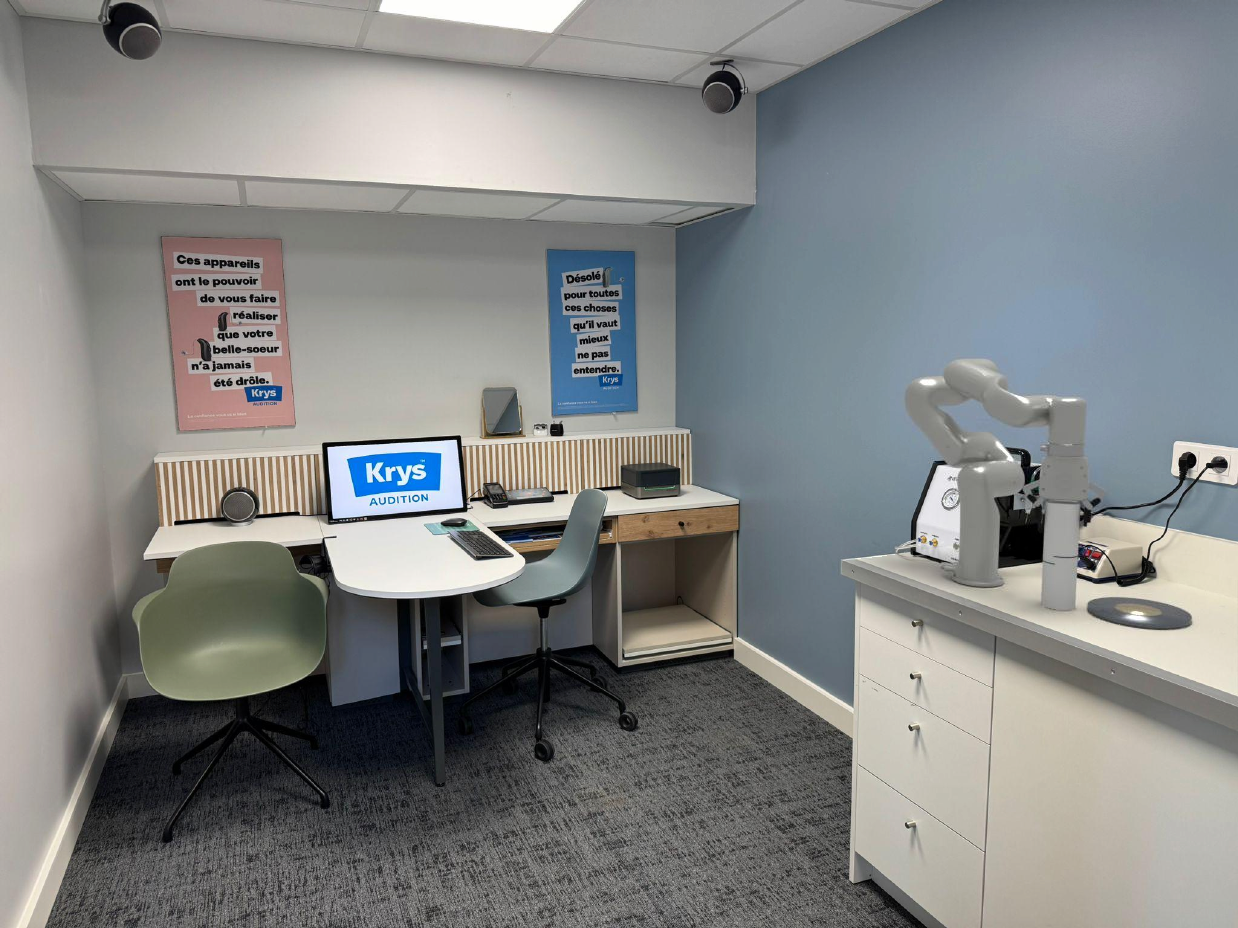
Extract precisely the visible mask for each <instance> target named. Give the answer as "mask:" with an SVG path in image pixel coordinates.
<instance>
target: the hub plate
mask: <svg viewBox="0 0 1238 928" xmlns="http://www.w3.org/2000/svg"><path fill="white" fill-rule="evenodd" d="M1086 604H1087V605H1086V610H1088V611H1087V612H1088V614H1090V615H1091V614H1092V615H1091V616H1093V617H1095V616H1096V617H1095V618H1096V619H1099V618H1100V619H1099V620H1102V619H1103V620H1102V621H1104V620H1105V622H1108V621H1109V622H1108V623H1111V624H1116V625H1119V624H1120V625H1119V626H1123V627H1124V626H1125V627H1130V628H1135V629H1145V630H1159V631H1161V630H1162V631H1164V630H1165V631H1167V630H1170V631H1171V630H1180V629H1184V628H1188V627H1190V625H1191V624H1192V623H1193V622H1192V620H1193V619H1192V618H1193V617H1192V614H1191V613H1189V612H1188V611H1187V610H1185V609H1183V608H1181V607H1178V606H1175V605H1172V604H1168V603H1165V602H1162V601H1161V602H1160V601H1156V600H1150V599H1143V598H1135V597H1124V596H1123V597H1122V596H1107V597H1106V596H1105V597H1098V598H1094V599H1091V600H1089V601H1088V602H1087V603H1086Z"/></svg>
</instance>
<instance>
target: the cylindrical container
mask: <svg viewBox="0 0 1238 928" xmlns="http://www.w3.org/2000/svg"><path fill="white" fill-rule="evenodd" d="M1080 518H1081V501H1064V500H1048V499H1045V509H1044V527H1043V528H1044V530H1043V531H1044V533H1043V551H1042V552H1043V553H1042V570H1041V571H1042V572H1041V573H1042V576H1041V592H1040V593H1041V594H1040V595H1041V597H1040V605H1041V606H1042V607H1043V606H1044V607H1043V608H1045V607H1048V608H1047V609H1049V608H1051V609H1050V610H1053V609H1057V610H1056V611H1061V610H1069V611H1073V610H1072V609H1074V610H1075V609H1076V600H1077V599H1076V598H1077V578H1078V576H1077V575H1078V561H1079V560H1078V559H1079V541H1080V540H1079V539H1080V537H1079V536H1080Z"/></svg>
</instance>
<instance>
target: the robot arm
mask: <svg viewBox="0 0 1238 928" xmlns="http://www.w3.org/2000/svg"><path fill="white" fill-rule="evenodd" d="M942 373H943V374H942V375H939V376H937V375H935V376H924V377H919V378H916V379H913V380H912V381H910V382H909V383H908V385H907V386H906V388H905V391H904V396H903V397H904V399H903V401H904V406H905V410H906V413H907V415H908V417H909V418H910V420H911V421H912V422H913V423H914V425H915V426H916V427H917V428H918V429H919V430H920V431H921V432H922V434H924V436H925V437H926V438H927V439H928V441H929V442H930V444H931V445H932V446H933V448H934V449H935V450H936V451H937V453H938V454H939V455H940V457H941V459H943V460H944V462H945V463H946V464H947V466H949V467H952V468H956V469H960V468H961V469H960V471H959V472H958V474H957V477H956V483H957V484H956V486H957V491H958V497H959V512H960V513H959V541H958V542H959V544H958V560H957V562H956V561H954V562H953V563H952V562H945V561H944V562H943V561H941V564H940V570H944V571H946V572H953V573H952V574H951V579H952V581H954V582H955V581H956V583H958V584H962V585H964V584H965V586H971V587H978V588H979V587H981V588H988V587H989V588H992V587H993V588H994V587H998V586H999V587H1000V586H1002V585H1003V584H1005V578H1004V577H1003V576H1002V575H999V574H998V573H999V571H998V570H999V554H1000V553H999V548H1000V529H1001V528H1000V524H1001V523H1000V521H1001V515H1000V511H999V510H1000V509H999V507H998V505H997V503H996V501H995V498H999V497H1000V498H1001V497H1008V496H1012V495H1016V494H1017V493H1019V492H1021V490H1022V491H1023V493H1024V495H1025V496H1026V498H1027V500H1028V501H1029V502H1030V503H1032V505H1033V506H1034V520H1037V524H1039V525H1040V524H1042V519H1043V505H1042V503H1044V502H1045V501H1046V500H1064V501H1078V502H1080V503H1081V502H1082V504H1083V505H1084V508H1083V524H1082V525H1083V527H1085V528H1087V527H1088V523H1089V524H1091V522H1092V510H1093V509H1094V508H1095V507H1097V506H1098V505H1099V504H1100V503H1101V502H1102V501H1103V500H1104V498H1105V496H1107V493H1108V491H1107V490H1106V489H1104V488H1102V487H1100V486H1098V485H1097V484H1094V483H1093V482H1091V481H1090V466H1089V465H1090V464H1089V459H1088V456H1087V457H1086V456H1085V446H1086V445H1085V444H1086V423H1087V401H1086V399H1084V398H1082V397H1078V396H1076V397H1074V396H1063V397H1062V396H1058V395H1051V394H1040V395H1021V396H1020V395H1017V394H1015V393H1012V392H1010V391H1008V390H1009V380H1008V378H1007V377H1006V376H1005V375H1004V374H1001V373H1000V371H999V368H998V366H997V364H995V362H993V361H992V360H990V359H988V358H961V359H960V358H958V359H954V360H953V361H951V362H949V363H947V365H946V366H945V368H944V370H943V372H942ZM971 400H975V401H976V402H978V403H979V404H981V405H982V407H983V409H984V410H985V412H986V413H987V414H988V416H990V417H991V418H993V419H994V420H996V421H998V422H1001V423H1002V424H1004V425H1007V426H1010V427H1013V428H1018V429H1029V428H1043V427H1047V443H1046V444H1044V445H1043V444H1041V445H1040V447H1039V449H1040V451H1041V452H1045V453H1046V454H1045V455H1043V458H1042V461H1041V466H1040V473H1039V479H1038V480H1035V481H1033V482H1030V483H1028V484H1026V485H1025V482H1026V481H1025V480H1026V479H1025V477H1026V476H1025V474H1024V471H1023V468H1022V467H1021V465H1020V464H1019V462H1018V461H1017V459H1015V457H1014V455H1012V454H1011V453H1010V451H1009V450H1008V449H1007V448H1006V447H1005V446H1004V444H1003V443H1002V442H1001V441H1000V440H999V438H998V437H996V436H995V435H993V434H991V433H990V432H988V431H981V430H980V431H967V430H964V429H963V428H962V427H961V426H960V425H959V424H958V423H957V421H956V420H955V419H954V417H953V416H951V415H950V414H949V413H947V412H945V411H944V410H943V409H941V407H954V406H959V405H963V404H964V403H966V402H968V401H971ZM939 407H940V408H939ZM1037 487H1038V495H1039V496H1038V497H1036V496H1035V495H1034V494H1033V493H1032V490H1033V489H1035V488H1037ZM1090 490H1091V491H1093V492H1095V493H1097V496H1096V497H1095V498H1093V499H1092V500H1090V499H1089V496H1090V495H1089V494H1090Z"/></svg>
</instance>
